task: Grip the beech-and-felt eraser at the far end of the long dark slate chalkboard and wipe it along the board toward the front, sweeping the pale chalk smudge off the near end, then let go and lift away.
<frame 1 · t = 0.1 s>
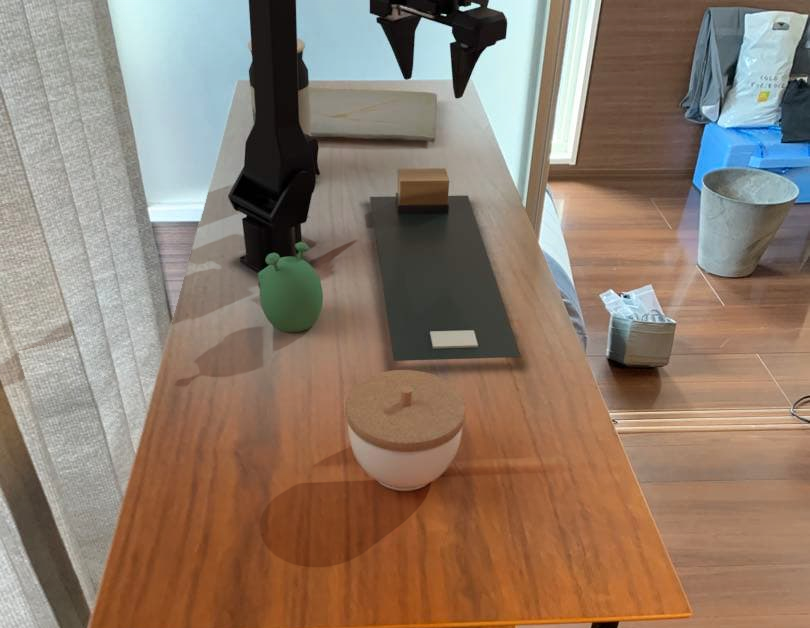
hand: (432, 88, 109), 15 cm above the table, tool pointing down, fingers open, 9 cm apart
smudge: (453, 340, 92), point 1 cm above the table, touching board
alien toy: (292, 329, 95), on the table
trinket box: (403, 470, 79), on the table
decorative slab: (356, 121, 139), on the table
eraser: (421, 207, 115), point 1 cm above the table, touching board
travel mug: (286, 181, 122), on the table
board: (435, 275, 104), on the table
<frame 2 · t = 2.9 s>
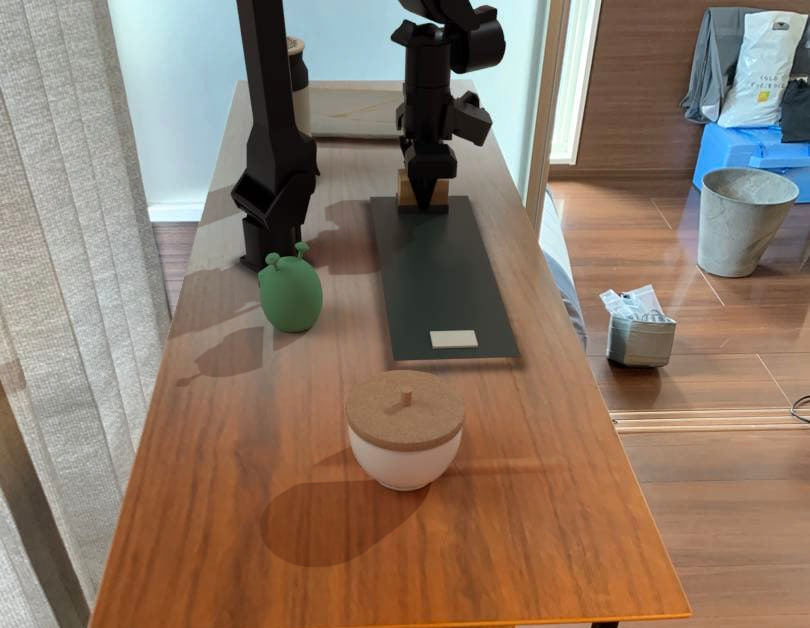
hand: (421, 203, 114), 2 cm above the table, tool pointing down, fingers closed on eraser, 4 cm apart
eraser: (421, 207, 115), point 1 cm above the table, touching board, gripper
everything else where it was.
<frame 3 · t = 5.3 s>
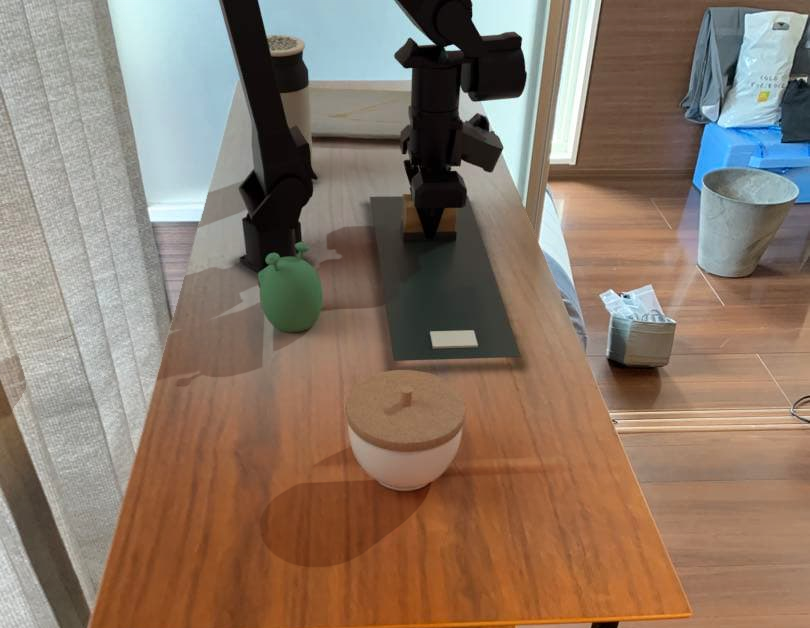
hand: (428, 230, 109), 2 cm above the table, tool pointing down, fingers closed on eraser, 4 cm apart
eraser: (428, 233, 109), point 1 cm above the table, touching gripper
everything else where it was.
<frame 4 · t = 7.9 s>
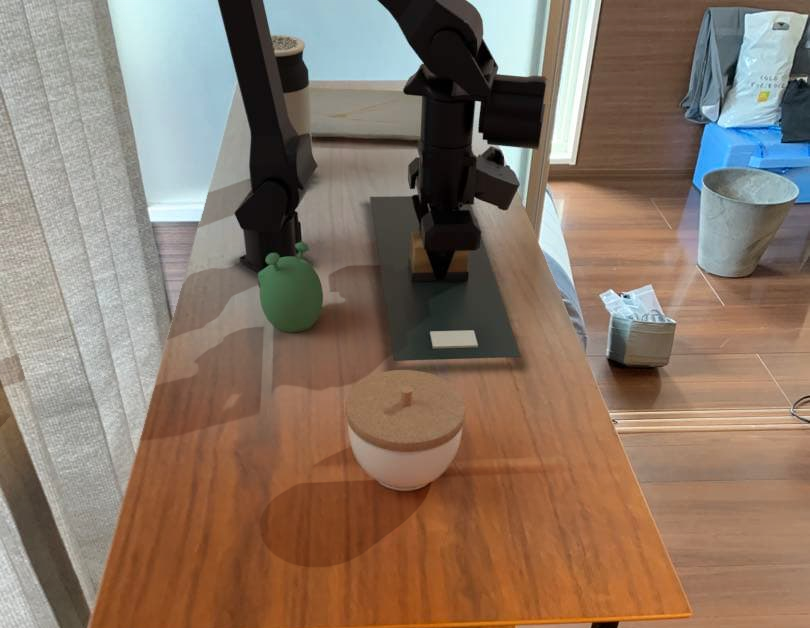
hand: (438, 269, 102), 2 cm above the table, tool pointing down, fingers closed on eraser, 4 cm apart
eraser: (437, 273, 102), point 1 cm above the table, touching gripper
everything else where it was.
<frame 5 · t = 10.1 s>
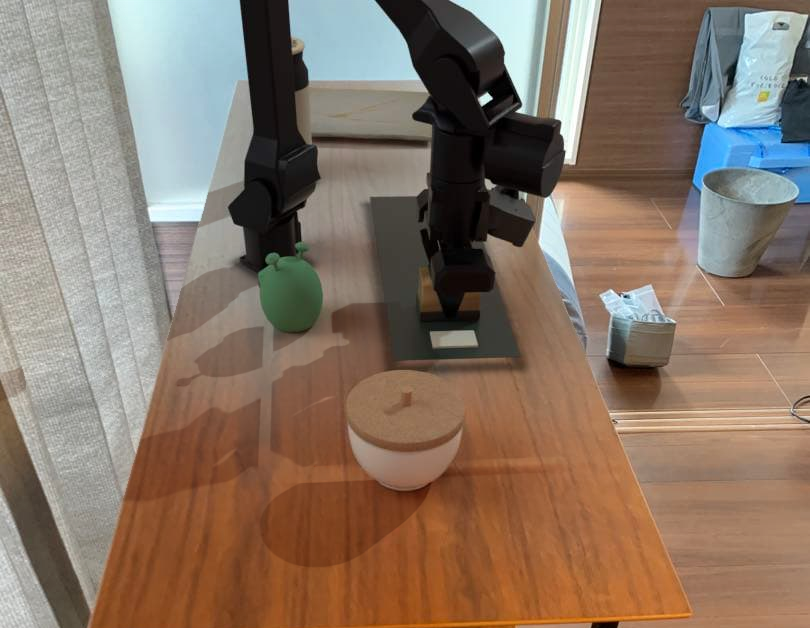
hand: (447, 307, 96), 2 cm above the table, tool pointing down, fingers closed on eraser, 4 cm apart
eraser: (447, 311, 96), point 1 cm above the table, touching gripper
everything else where it was.
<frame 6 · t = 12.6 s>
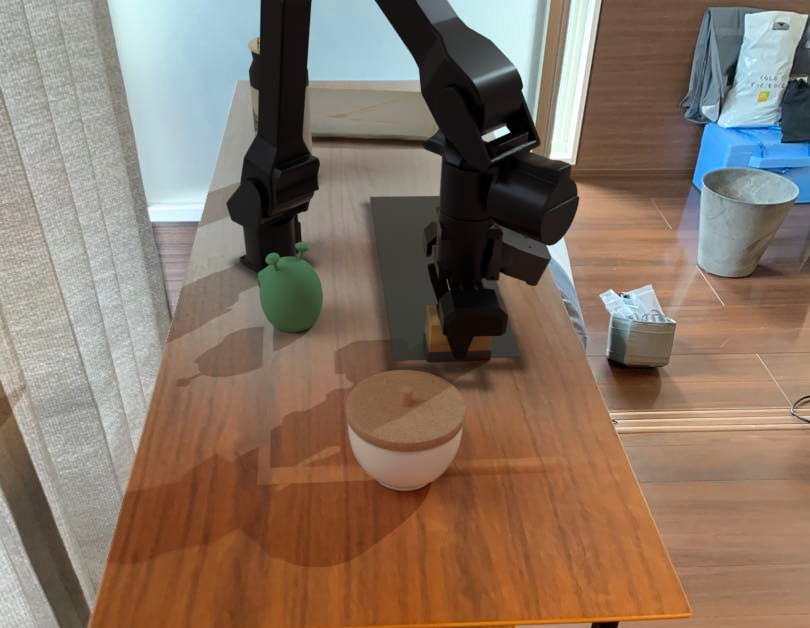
hand: (456, 346, 90), 2 cm above the table, tool pointing down, fingers closed on eraser, 4 cm apart
smudge: (459, 376, 90), on the table
eraser: (456, 350, 91), point 1 cm above the table, touching board, gripper
everything else where it was.
when the fingers open (2 cm above the table, at t = 12.8 s): eraser stays where it is, resting on board.
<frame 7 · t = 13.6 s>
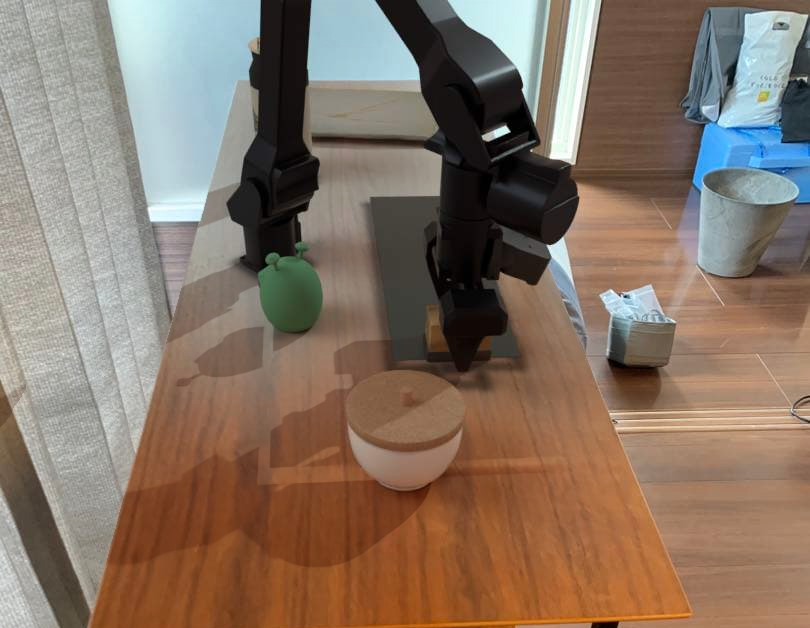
hand: (456, 346, 90), 2 cm above the table, tool pointing down, fingers open, 9 cm apart
eraser: (456, 350, 91), point 1 cm above the table, touching board
everything else where it was.
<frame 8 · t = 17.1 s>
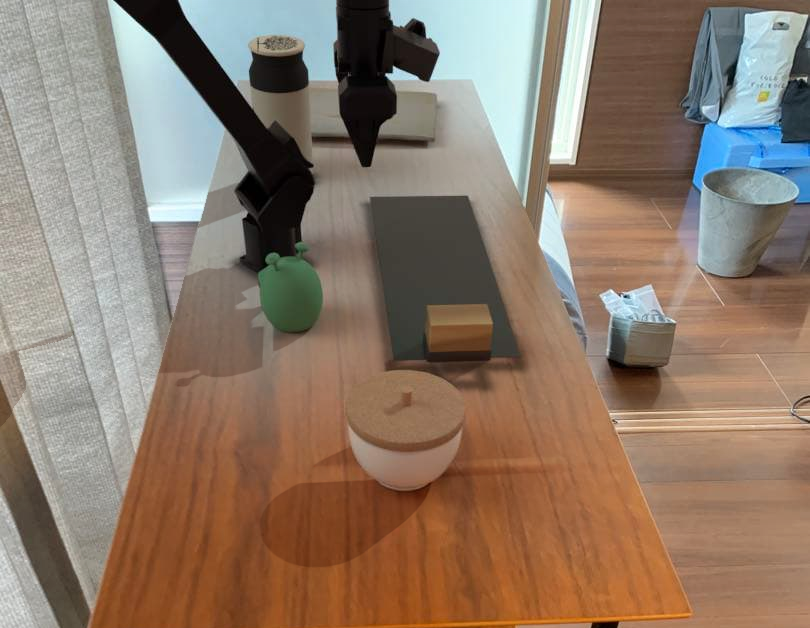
hand: (363, 150, 101), 12 cm above the table, tool pointing down, fingers open, 9 cm apart
nothing on the table moved.
at the end: smudge on the table; eraser touching board; the gripper is holding nothing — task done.
